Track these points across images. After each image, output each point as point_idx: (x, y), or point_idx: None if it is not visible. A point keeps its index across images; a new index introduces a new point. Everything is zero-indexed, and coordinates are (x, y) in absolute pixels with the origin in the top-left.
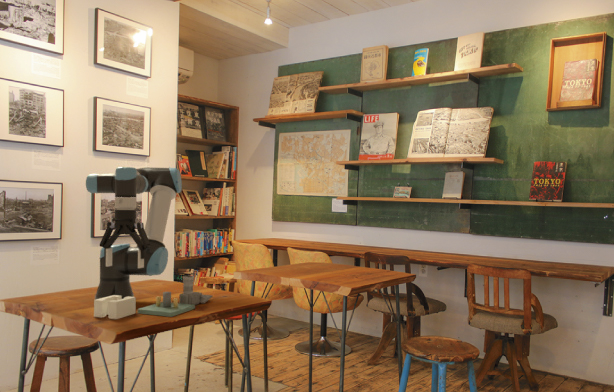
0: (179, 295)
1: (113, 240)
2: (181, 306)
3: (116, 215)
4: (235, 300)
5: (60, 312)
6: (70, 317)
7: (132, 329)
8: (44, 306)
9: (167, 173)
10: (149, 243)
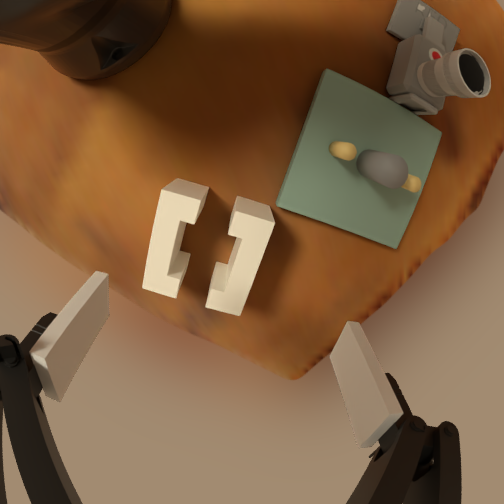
0: (403, 84)
1: (57, 461)
2: (412, 158)
3: None
4: (492, 41)
5: (46, 221)
6: None
7: (318, 360)
8: None
9: None
10: (454, 452)
